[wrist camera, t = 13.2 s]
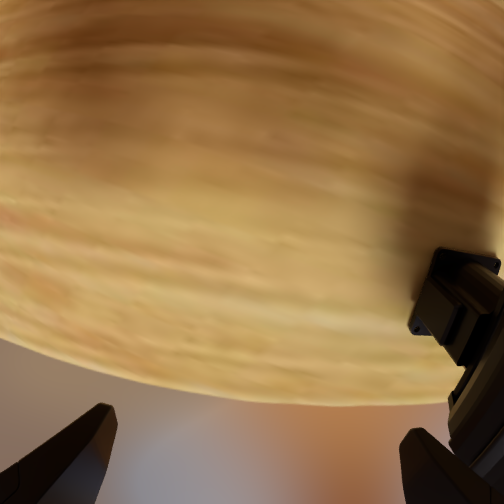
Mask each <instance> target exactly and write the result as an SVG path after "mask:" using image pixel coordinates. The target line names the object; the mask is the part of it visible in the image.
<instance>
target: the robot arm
mask: <svg viewBox="0 0 504 504" xmlns="http://www.w3.org/2000/svg"><path fill="white" fill-rule="evenodd" d="M441 253H443V255H442V257H441V258H440V255H441ZM495 263H496V264H495ZM494 265H495V266H494ZM500 267H501V261H500V259H498V258H496V257H493V256H488V255H483V254H478V253H472V252H467V251H462V250H456V249H451V248H445V247H439V248H437V249H436V250H435V253H434V256H433V259H432V262H431V266H430V269H429V272H428V275H427V278H426V279H425V282H424V285H423V288H422V291H421V294H420V297H419V300H418V303H417V305H416V308H415V313H414V315H413V318H412V321H411V323H410V326H409V330H410V332H411V333H412V334H413V335H424V336H433V337H434V338H435V340H436V341H437V342H438V344H439V345H440V346H443V347H444V348H445V350H446V351H447V352H448V354H449V355H450V357H451V358H452V359H453V361H454V362H455V364H456V365H457V366H463V367H464V369H465V372H464V374H463V376H462V377H461V379H460V381H459V383H458V384H457V386H456V388H455V389H454V391H452V392H451V393H450V395H449V397H448V403H449V410H450V413H449V418H448V428H449V432H450V437H451V439H450V440H449V446H450V448H451V449H452V451H453V453H454V454H455V455H454V454H452V452H450V451H449V450H448V449H447V448H446V447H445V446H443V445H442V444H441V443H440V442H439V441H438V440H437V439H435V438H434V437H433V436H432V435H431V434H430V433H428V432H427V431H426V430H425V429H424V428H420V427H419V428H412V429H410V430H409V432H408V433H407V435H406V436H405V437H404V439H403V440H402V442H401V443H400V446H399V453H400V463H401V473H402V483H403V490H404V496H405V501H406V504H504V280H503V279H501V278H500V277H499V276H497V275H498V273H499V270H500ZM417 326H418V327H417ZM416 327H417V328H416ZM415 328H416V329H415ZM117 426H118V423H117V419H116V415H115V410H114V407H113V406H112V405H109V404H105V403H98V404H97V405H95V406H94V407H93V408H91V409H90V410H89V411H87V412H86V413H85V414H83V415H82V416H80V417H79V418H78V419H76V420H75V421H74V422H72V423H71V424H70V425H68V426H67V427H65V428H64V429H63V430H61V431H60V432H59V433H57V434H56V435H54V436H53V437H51V438H50V439H49V440H47V441H46V442H45V443H43V444H42V445H40V446H39V447H37V448H36V449H35V450H33V451H32V452H30V453H29V454H28V455H26V456H25V457H23V458H22V459H20V460H19V461H18V462H16V463H14V464H13V465H12V466H10V467H9V468H7V469H6V470H4V471H3V472H1V473H0V504H95V501H96V498H97V496H98V493H99V490H100V487H101V485H102V482H103V479H104V477H105V474H106V471H107V468H108V464H109V459H110V455H111V451H112V447H113V443H114V439H115V435H116V431H117Z"/></svg>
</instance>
